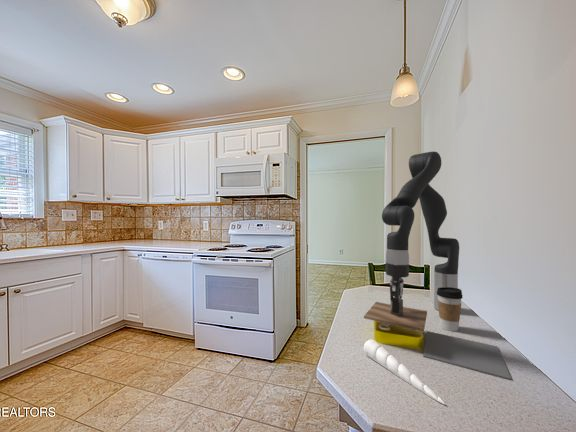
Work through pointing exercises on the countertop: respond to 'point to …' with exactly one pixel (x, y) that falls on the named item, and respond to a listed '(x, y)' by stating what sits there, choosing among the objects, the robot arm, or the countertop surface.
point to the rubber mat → (465, 354)
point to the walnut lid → (397, 315)
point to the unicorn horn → (396, 367)
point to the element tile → (397, 335)
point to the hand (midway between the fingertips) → (396, 310)
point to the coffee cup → (449, 307)
